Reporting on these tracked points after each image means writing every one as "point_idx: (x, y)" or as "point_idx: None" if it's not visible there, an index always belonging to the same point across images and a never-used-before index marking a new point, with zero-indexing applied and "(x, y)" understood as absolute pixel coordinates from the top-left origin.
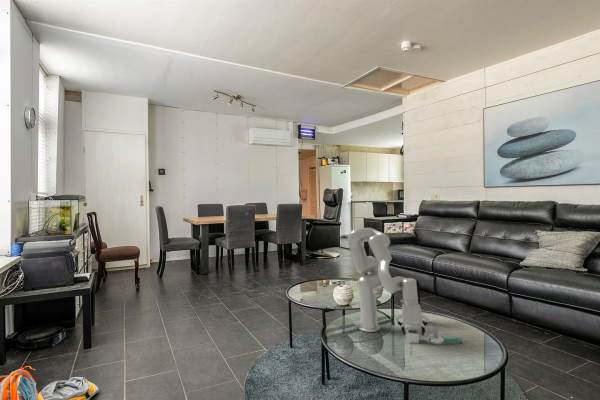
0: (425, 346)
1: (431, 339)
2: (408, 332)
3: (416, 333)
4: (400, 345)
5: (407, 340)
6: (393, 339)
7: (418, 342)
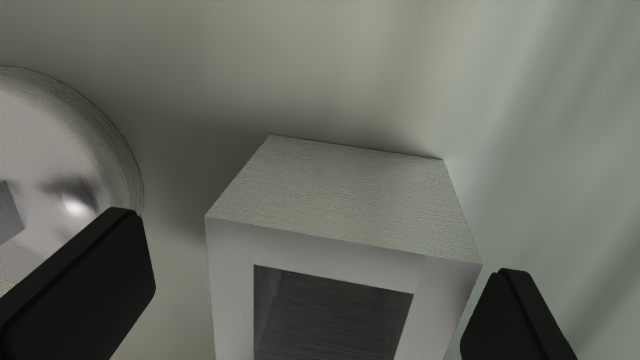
0: (179, 13)
1: (37, 128)
2: (415, 301)
3: (240, 236)
4: (620, 55)
5: (442, 176)
6: (608, 283)
7: (268, 138)
